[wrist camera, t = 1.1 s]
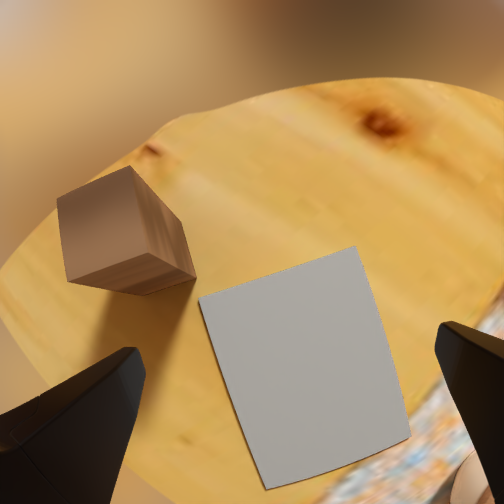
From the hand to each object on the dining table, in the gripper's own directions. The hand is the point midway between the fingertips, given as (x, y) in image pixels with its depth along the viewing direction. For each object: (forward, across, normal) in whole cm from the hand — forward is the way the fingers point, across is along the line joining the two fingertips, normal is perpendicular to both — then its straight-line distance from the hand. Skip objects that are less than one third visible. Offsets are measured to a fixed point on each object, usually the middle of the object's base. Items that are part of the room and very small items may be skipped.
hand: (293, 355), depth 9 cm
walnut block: (+15, +9, +2) cm, 17 cm away
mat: (+11, -2, +10) cm, 15 cm away
